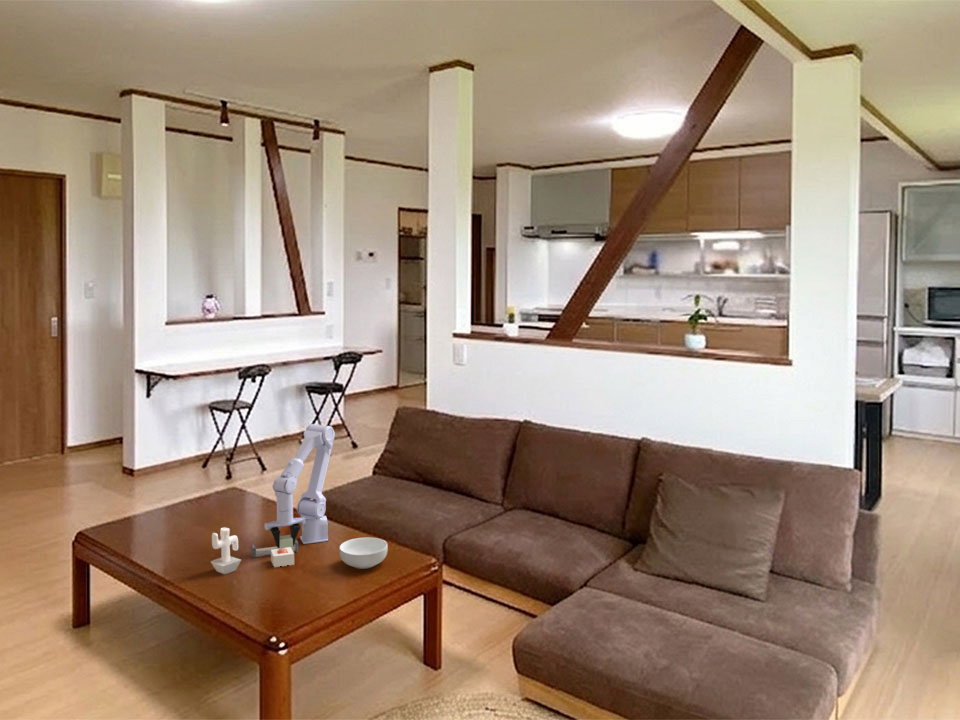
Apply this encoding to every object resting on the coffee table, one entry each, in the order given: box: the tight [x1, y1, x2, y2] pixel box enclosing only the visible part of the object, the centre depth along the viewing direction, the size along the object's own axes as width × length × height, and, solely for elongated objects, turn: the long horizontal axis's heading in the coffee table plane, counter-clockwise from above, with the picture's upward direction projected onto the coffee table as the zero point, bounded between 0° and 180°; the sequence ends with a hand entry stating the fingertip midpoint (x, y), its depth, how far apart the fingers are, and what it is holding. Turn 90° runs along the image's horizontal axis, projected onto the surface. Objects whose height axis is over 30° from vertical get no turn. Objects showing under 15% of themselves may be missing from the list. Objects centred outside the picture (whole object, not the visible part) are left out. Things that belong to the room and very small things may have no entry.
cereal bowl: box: [339, 536, 389, 570], centre depth 272 cm, size 17×17×7 cm
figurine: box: [210, 526, 242, 575], centre depth 265 cm, size 7×9×15 cm
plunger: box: [278, 548, 287, 554], centre depth 274 cm, size 3×3×4 cm
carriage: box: [279, 534, 293, 550], centre depth 284 cm, size 5×5×5 cm
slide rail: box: [251, 538, 299, 559], centre depth 283 cm, size 16×4×4 cm, turn 113°
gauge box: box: [270, 547, 295, 568], centre depth 274 cm, size 7×7×4 cm
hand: (285, 545), depth 284 cm, fingers closed on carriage, 5 cm apart
